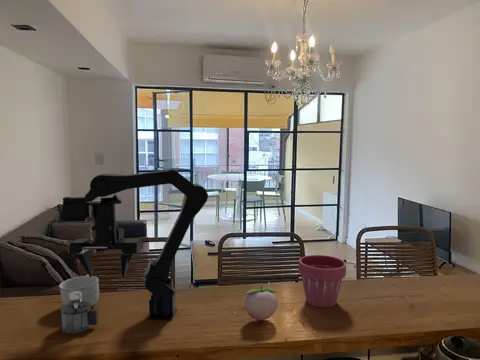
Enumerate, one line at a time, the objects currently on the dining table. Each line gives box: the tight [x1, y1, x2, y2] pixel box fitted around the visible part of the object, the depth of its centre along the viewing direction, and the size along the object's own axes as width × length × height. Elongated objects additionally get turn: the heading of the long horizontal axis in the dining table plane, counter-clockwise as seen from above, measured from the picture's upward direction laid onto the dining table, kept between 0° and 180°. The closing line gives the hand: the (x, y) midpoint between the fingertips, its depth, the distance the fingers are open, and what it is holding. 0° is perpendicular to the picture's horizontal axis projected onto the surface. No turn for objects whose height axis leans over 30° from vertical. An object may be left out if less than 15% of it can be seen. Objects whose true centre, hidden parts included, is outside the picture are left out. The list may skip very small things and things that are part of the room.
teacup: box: [58, 274, 100, 307], centre depth 120 cm, size 14×11×8 cm
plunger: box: [69, 291, 82, 309], centre depth 105 cm, size 5×5×8 cm
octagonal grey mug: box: [59, 301, 99, 334], centre depth 105 cm, size 9×7×6 cm
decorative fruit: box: [243, 285, 279, 322], centre depth 108 cm, size 9×8×10 cm
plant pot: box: [298, 254, 347, 308], centre depth 122 cm, size 14×14×13 cm
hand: (107, 276), depth 109 cm, fingers open, 9 cm apart
